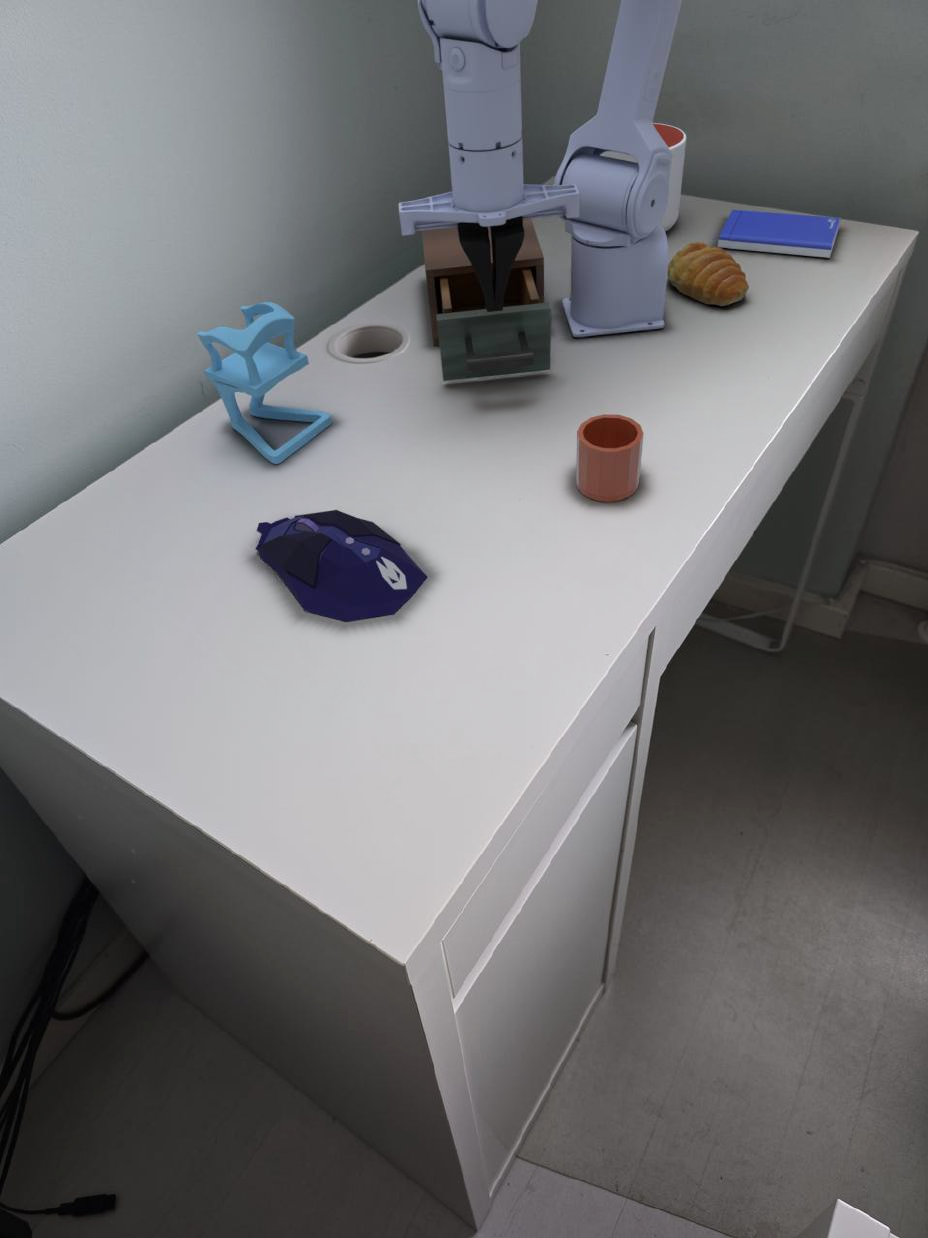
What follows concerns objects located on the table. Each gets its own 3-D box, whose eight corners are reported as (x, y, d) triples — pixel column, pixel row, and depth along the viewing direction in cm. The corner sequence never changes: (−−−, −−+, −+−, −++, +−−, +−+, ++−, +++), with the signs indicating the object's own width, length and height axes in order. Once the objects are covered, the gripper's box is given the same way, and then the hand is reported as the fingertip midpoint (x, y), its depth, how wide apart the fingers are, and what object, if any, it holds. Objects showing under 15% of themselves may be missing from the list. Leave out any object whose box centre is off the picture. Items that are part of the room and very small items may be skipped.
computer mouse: (372, 640, 62) (363, 600, 59) (220, 574, 68) (205, 535, 65) (442, 562, 67) (437, 522, 65) (295, 507, 74) (285, 468, 71)
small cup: (631, 461, 75) (635, 410, 71) (644, 498, 71) (649, 447, 67) (572, 467, 75) (572, 417, 71) (582, 505, 71) (583, 454, 67)
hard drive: (841, 215, 101) (733, 207, 105) (832, 245, 96) (718, 235, 100) (838, 229, 102) (731, 220, 106) (829, 259, 97) (717, 248, 101)
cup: (674, 207, 110) (683, 120, 103) (680, 241, 103) (689, 150, 96) (594, 210, 111) (597, 124, 104) (595, 243, 105) (598, 154, 97)
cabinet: (544, 334, 91) (543, 257, 85) (433, 345, 91) (425, 269, 85) (527, 272, 101) (525, 199, 95) (427, 283, 101) (419, 211, 95)
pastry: (763, 299, 92) (769, 263, 89) (710, 317, 91) (714, 281, 88) (708, 266, 98) (712, 232, 96) (658, 282, 97) (660, 248, 94)
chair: (270, 399, 86) (239, 281, 77) (334, 422, 82) (308, 301, 73) (213, 439, 82) (173, 318, 73) (277, 465, 78) (243, 342, 69)
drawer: (558, 397, 81) (558, 334, 76) (446, 409, 81) (439, 346, 76) (532, 304, 93) (531, 245, 89) (436, 314, 93) (430, 256, 89)
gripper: (391, 166, 64) (413, 336, 74) (587, 146, 64) (583, 319, 74) (390, 134, 69) (411, 298, 79) (572, 115, 69) (570, 281, 79)
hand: (494, 306), depth 77 cm, fingers closed
